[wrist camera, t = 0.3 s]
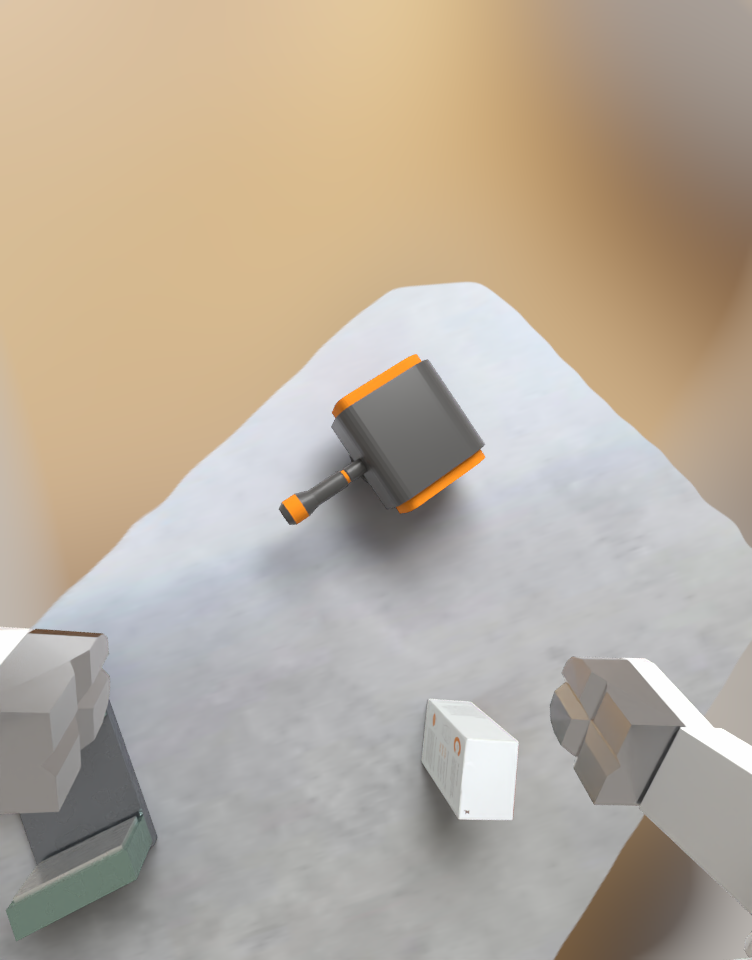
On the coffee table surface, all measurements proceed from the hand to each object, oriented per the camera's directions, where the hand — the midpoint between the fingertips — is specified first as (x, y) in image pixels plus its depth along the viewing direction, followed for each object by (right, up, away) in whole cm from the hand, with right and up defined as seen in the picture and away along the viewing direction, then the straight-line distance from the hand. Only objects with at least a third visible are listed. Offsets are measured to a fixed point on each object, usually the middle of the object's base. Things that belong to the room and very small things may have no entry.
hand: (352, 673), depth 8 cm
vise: (-33, -30, +45) cm, 63 cm away
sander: (-1, +5, +56) cm, 56 cm away
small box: (+10, -30, +54) cm, 62 cm away
